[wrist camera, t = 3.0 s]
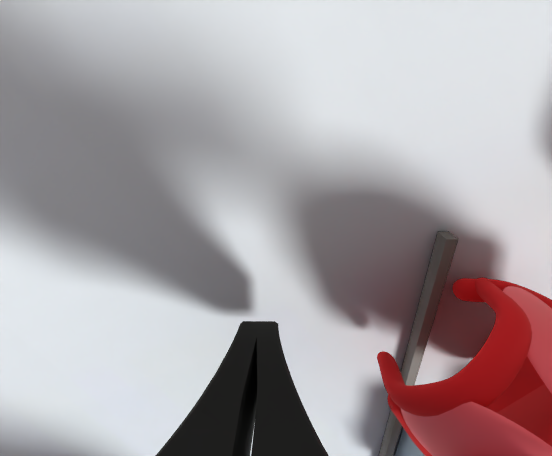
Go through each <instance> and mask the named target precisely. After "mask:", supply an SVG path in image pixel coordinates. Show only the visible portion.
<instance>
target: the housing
mask: <svg viewBox="0 0 552 456" xmlns="http://www.w3.org/2000/svg"><path fill="white" fill-rule="evenodd" d="M457 242H458V239H457V238H456V237H455V236H454V235H453V234H451V233H450V232H449V231H448V232H438V233H437V237H436V241H435V245H434V248H433V252H432V256H431V260H430V263H429V267H428V271H427V275H426V279H425V282H424V286H423V290H422V294H421V298H420V301H419V305H418V309H417V313H416V316H415V320H414V324H413V328H412V332H411V335H410V339H409V343H408V347H407V351H406V354H405V358H404V362H403V366H402V369H401V375H402V378H403V381H404V383H405V385H408V386H414V384H415V381H416V377H417V374H418V371H419V367H420V364H421V361H422V357H423V354H424V351H425V347H426V344H427V341H428V338H429V334H430V331H431V328H432V324H433V321H434V318H435V314H436V311H437V308H438V305H439V301H440V298H441V295H442V291H443V288H444V285H445V281H446V278H447V275H448V271H449V268H450V265H451V262H452V258H453V255H454V252H455V248H456V245H457ZM401 427H402V425H401V423H400V422H399V420H398V419H397V418H396V416H395V415H394V413H393V412H392V410H391V411H390V415H389V419H388V422H387V426H386V430H385V434H384V438H383V441H382V445H381V449H380V453H379V456H393V453H394V450H395V447H396V443H397V440H398V437H399V433H400V430H401Z"/></svg>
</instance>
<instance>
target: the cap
mask: <svg viewBox="0 0 552 456" xmlns="http://www.w3.org/2000/svg"><path fill="white" fill-rule="evenodd" d="M452 291H453V293H454V295H455V296H456V297H457V298H458V299H460V300H462V301H470V302H486V303H487V304H488V305H489V306H490V307H491V308H492V309H493V310H494V311H495V313H496V319H495V324H494V326H493V329H492V331H491V333H490V335H489V337H488V339H487V340H486V342H485V344H484V345H483V347H482V348H481V349H480V351H479V352H478V353H477V355H476V356H475V357H474V358H473V359H472V360H471V361H470V363H469V364H468V365H467V366H466V367H464V368H463V369H462V370H461V371H460V372H458V373H457V374H456V375H454V376H452V377H450V378H448V379H446V380H443V381H439V382H435V383H430V384H424V385H414V386H408V385H405V383H404V381H403V378H402V375H401V372H400V370H399V367H398V365H397V363H396V361H395V359H394V358H393V357H392V355H390V354H389V353H387V352H380V353H379V354H378V356H377V359H378V363H379V367H380V371H381V375H382V379H383V383H384V386H385V388H386V391H387V393H388V398H387V399H388V405H389V407H390V409H391V410H392V412H393V413H394V415H395V416H396V418H397V419H398V420H399V422H400V423H401V425H402V427H403V428H404V430H405V431H406V433H407V434H408V435H409V437H410V438H411V440H412V441H413V442H414V444H415V445H416V446H417V447H418V448H419V450H420V451H421V452H422V453H423V454H424V455H425V456H552V300H551V299H549V298H547V297H545V296H543V295H541V294H539V293H537V292H534V291H532V290H530V289H527V288H525V287H522V286H519V285H516V284H513V283H510V282H506V281H500V280H494V279H487V278H483V277H482V278H478V279H469V278H462V279H459V280H457V281H456V282H455V283H454V284H453V286H452Z"/></svg>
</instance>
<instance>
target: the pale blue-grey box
mask: <svg viewBox="0 0 552 456" xmlns="http://www.w3.org/2000/svg"><path fill="white" fill-rule="evenodd" d="M395 456H425V455H424V454H423V453H422V452H421V451H420V450H419V448H418V447H417V446H416V445H415V444H414V442H413V441H412V440H411V438H410V437H409V435H408V434H407V433H406V431H405V430H404V428H403V431H402V434H401V437H400V441H399V444H398V447H397V450H396V454H395Z"/></svg>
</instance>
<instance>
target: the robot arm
mask: <svg viewBox="0 0 552 456" xmlns="http://www.w3.org/2000/svg"><path fill="white" fill-rule="evenodd" d="M254 423H255V426H254ZM253 429H254V435H253ZM252 436H253V445H252V454H251V456H328V454H327V452H326V450H325V449H324V447H323V445H322V443H321V441H320V439H319V437H318V436H317V434H316V432H315V430H314V428H313V426H312V424H311V422H310V420H309V417H308V415H307V413H306V411H305V409H304V407H303V405H302V402H301V400H300V398H299V395H298V393H297V390H296V388H295V385H294V383H293V380H292V378H291V375H290V372H289V369H288V366H287V363H286V360H285V357H284V354H283V350H282V346H281V342H280V337H279V331H278V323H276V322H252V321H243V322H242V323H241V324H240V326H239V329H238V331H237V334H236V336H235V338H234V340H233V342H232V344H231V346H230V348H229V350H228V352H227V354H226V356H225V358H224V359H223V361H222V363H221V365H220V367H219V368H218V370H217V372H216V374H215V375H214V377H213V378H212V380H211V381H210V383H209V385H208V386H207V388H206V389H205V391H204V393H203V394H202V396H201V397H200V399H199V400H198V402H197V403H196V404H195V406H194V407H193V409H192V410H191V411H190V413H189V414H188V416H187V417H186V418H185V420H184V421H183V422H182V424H181V425H180V426H179V428H178V429H177V430H176V431H175V433H174V434H173V435H172V436H171V438H170V439H169V440H168V441H167V443H166V444H165V445H164V446H163V448H162V449H161V450H160V451H159V452H158V454H157V455H156V456H250V450H251V443H252Z"/></svg>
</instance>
